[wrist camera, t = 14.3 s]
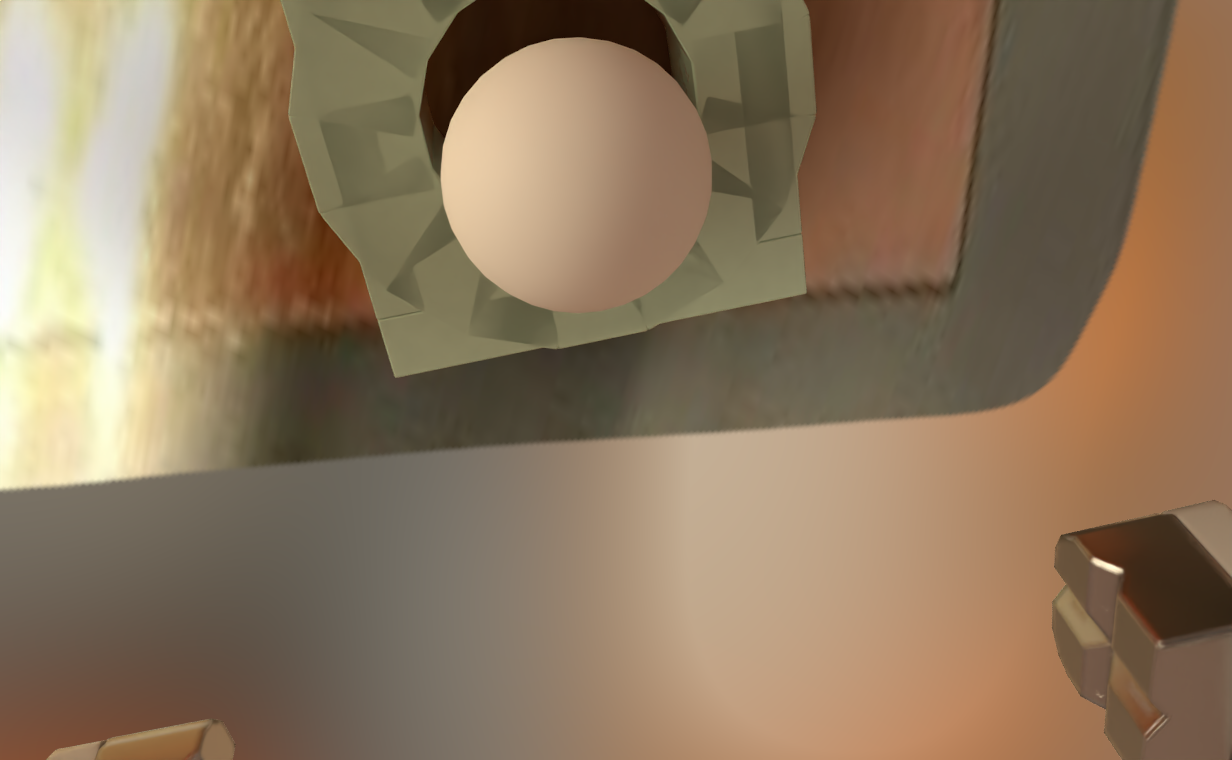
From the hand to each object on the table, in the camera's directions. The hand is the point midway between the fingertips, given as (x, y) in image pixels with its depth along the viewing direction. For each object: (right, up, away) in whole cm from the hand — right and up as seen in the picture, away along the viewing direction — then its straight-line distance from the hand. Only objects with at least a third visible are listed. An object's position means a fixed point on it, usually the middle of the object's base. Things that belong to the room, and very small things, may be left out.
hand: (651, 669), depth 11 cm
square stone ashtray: (-2, +12, +21) cm, 24 cm away
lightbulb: (-2, +11, +22) cm, 25 cm away
